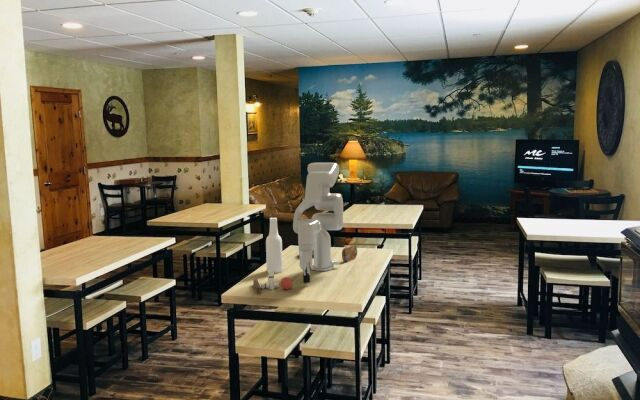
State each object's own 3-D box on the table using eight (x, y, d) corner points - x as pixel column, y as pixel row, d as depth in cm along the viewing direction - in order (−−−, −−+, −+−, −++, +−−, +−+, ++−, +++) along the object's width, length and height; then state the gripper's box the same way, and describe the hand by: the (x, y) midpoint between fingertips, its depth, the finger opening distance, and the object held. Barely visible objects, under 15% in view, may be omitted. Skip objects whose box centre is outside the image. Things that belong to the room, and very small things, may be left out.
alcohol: (280, 273, 292) (278, 219, 288) (264, 273, 293) (263, 219, 289) (284, 269, 300) (283, 216, 296) (269, 269, 302) (267, 216, 298)
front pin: (278, 281, 267) (261, 283, 265) (278, 283, 264) (261, 285, 263) (278, 286, 267) (261, 287, 266) (278, 288, 265) (261, 289, 263)
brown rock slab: (345, 263, 313) (345, 249, 312) (340, 262, 315) (340, 248, 314) (357, 257, 326) (357, 244, 325) (353, 257, 328) (353, 243, 326)
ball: (276, 282, 264) (286, 281, 268) (281, 292, 261) (291, 291, 265) (281, 274, 261) (291, 274, 265) (286, 284, 258) (296, 284, 261)
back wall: (257, 284, 272) (257, 278, 271) (260, 293, 256) (260, 287, 256) (253, 284, 271) (253, 279, 271) (256, 294, 256) (256, 288, 256)
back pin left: (274, 288, 264) (273, 271, 263) (274, 290, 262) (274, 273, 261) (269, 288, 264) (268, 272, 263) (269, 290, 261) (269, 273, 260)
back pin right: (272, 285, 269) (272, 269, 268) (273, 287, 267) (273, 270, 266) (267, 286, 269) (267, 269, 268) (268, 287, 266) (268, 270, 265)
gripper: (296, 244, 273) (296, 279, 276) (301, 250, 259) (302, 287, 261) (310, 243, 275) (310, 278, 277) (316, 249, 260) (317, 286, 263)
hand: (306, 282), depth 269 cm, fingers closed
